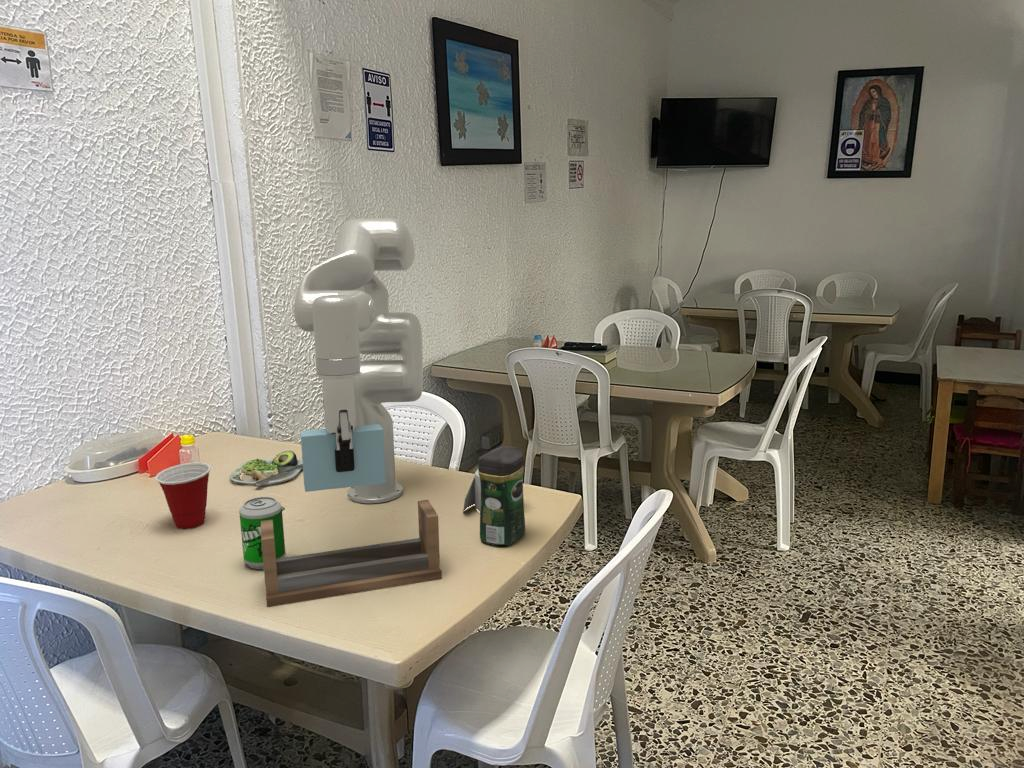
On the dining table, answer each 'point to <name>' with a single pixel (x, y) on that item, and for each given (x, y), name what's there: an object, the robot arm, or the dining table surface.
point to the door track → (352, 565)
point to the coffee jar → (501, 495)
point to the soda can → (251, 529)
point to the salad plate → (269, 470)
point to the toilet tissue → (474, 493)
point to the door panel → (322, 459)
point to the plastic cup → (186, 492)
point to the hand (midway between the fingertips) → (343, 466)
